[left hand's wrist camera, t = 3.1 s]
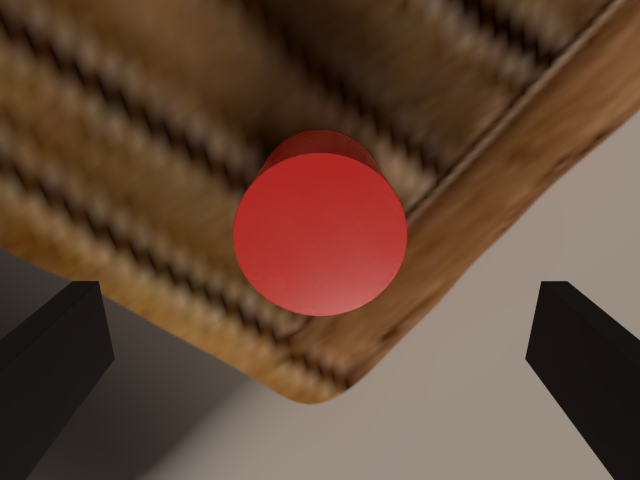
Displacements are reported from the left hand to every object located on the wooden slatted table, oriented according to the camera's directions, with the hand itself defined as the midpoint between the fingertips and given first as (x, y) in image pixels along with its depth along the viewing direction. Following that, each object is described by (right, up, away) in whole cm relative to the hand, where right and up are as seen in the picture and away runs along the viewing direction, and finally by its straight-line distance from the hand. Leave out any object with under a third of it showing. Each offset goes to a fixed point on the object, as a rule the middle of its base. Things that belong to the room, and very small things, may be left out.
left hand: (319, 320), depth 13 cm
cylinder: (0, +5, +13) cm, 14 cm away
